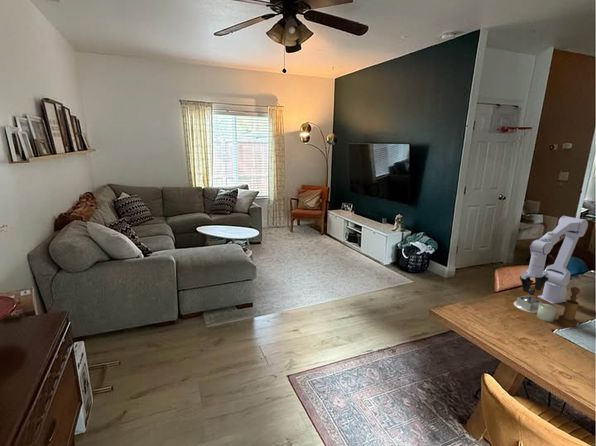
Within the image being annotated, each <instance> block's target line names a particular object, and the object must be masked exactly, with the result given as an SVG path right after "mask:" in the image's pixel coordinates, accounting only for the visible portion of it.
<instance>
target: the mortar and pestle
mask: <svg viewBox="0 0 596 446" xmlns="http://www.w3.org/2000/svg"><path fill="white" fill-rule="evenodd" d="M570 292H571V295H570V297H569V298H570V299H567V300H566V302H565V308H564V310H563V314H562V315H559V316H558V319H557V322H558V324H560V325H562V326H564V327H568V328H573V329H574V328H577V324H578V321H577V320H576V318H575V317H576V314H577V310H578V307H579V302H578V301H577V300H578V297H577V295H578V294H580V293H581V290H580V288H579V287H577V286H572V287H571V288H570Z"/></svg>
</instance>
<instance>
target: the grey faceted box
mask: <svg viewBox="0 0 596 446" xmlns="http://www.w3.org/2000/svg"><path fill="white" fill-rule="evenodd" d="M516 297H517V298H516V301H517V302H516V304H517V305H519V306H521V307H523V308H524V309H526V310H528V311H533V310H538V308H539V304H543V301H540V300H539V299H536V298H535V297H531V298H532V299H534V300H535V301H536V303H529V302H527V301H525V300H523V298H524V297H528V298H529V295H525V296H524V295H523V296H522V295H520V294H517V296H516Z"/></svg>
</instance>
